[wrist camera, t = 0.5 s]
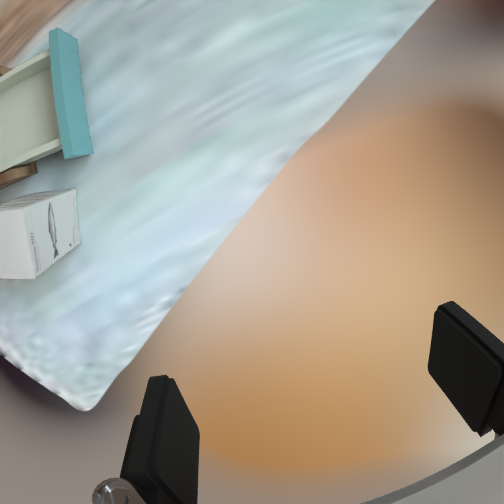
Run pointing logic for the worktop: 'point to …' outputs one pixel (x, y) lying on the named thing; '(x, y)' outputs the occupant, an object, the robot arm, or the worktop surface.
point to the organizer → (16, 173)
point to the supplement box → (37, 232)
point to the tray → (44, 106)
